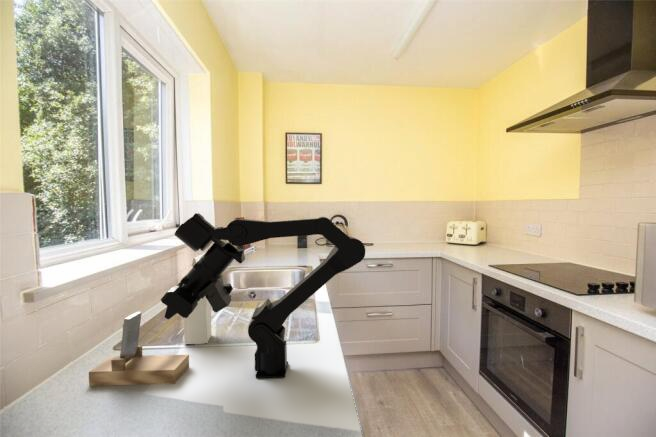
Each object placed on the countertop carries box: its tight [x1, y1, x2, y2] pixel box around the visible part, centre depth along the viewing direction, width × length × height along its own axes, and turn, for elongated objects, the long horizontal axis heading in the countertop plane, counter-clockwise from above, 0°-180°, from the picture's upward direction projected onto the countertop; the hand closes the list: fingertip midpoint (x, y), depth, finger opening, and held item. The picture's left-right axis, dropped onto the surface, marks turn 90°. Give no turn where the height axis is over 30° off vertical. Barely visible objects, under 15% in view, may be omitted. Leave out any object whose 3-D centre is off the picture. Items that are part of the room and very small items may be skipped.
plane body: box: [88, 345, 190, 387], centre depth 69 cm, size 18×7×5 cm, turn 91°
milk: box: [182, 274, 212, 346], centre depth 88 cm, size 6×6×22 cm
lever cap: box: [119, 311, 142, 364], centre depth 69 cm, size 2×5×10 cm, turn 1°
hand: (166, 317), depth 69 cm, fingers closed
